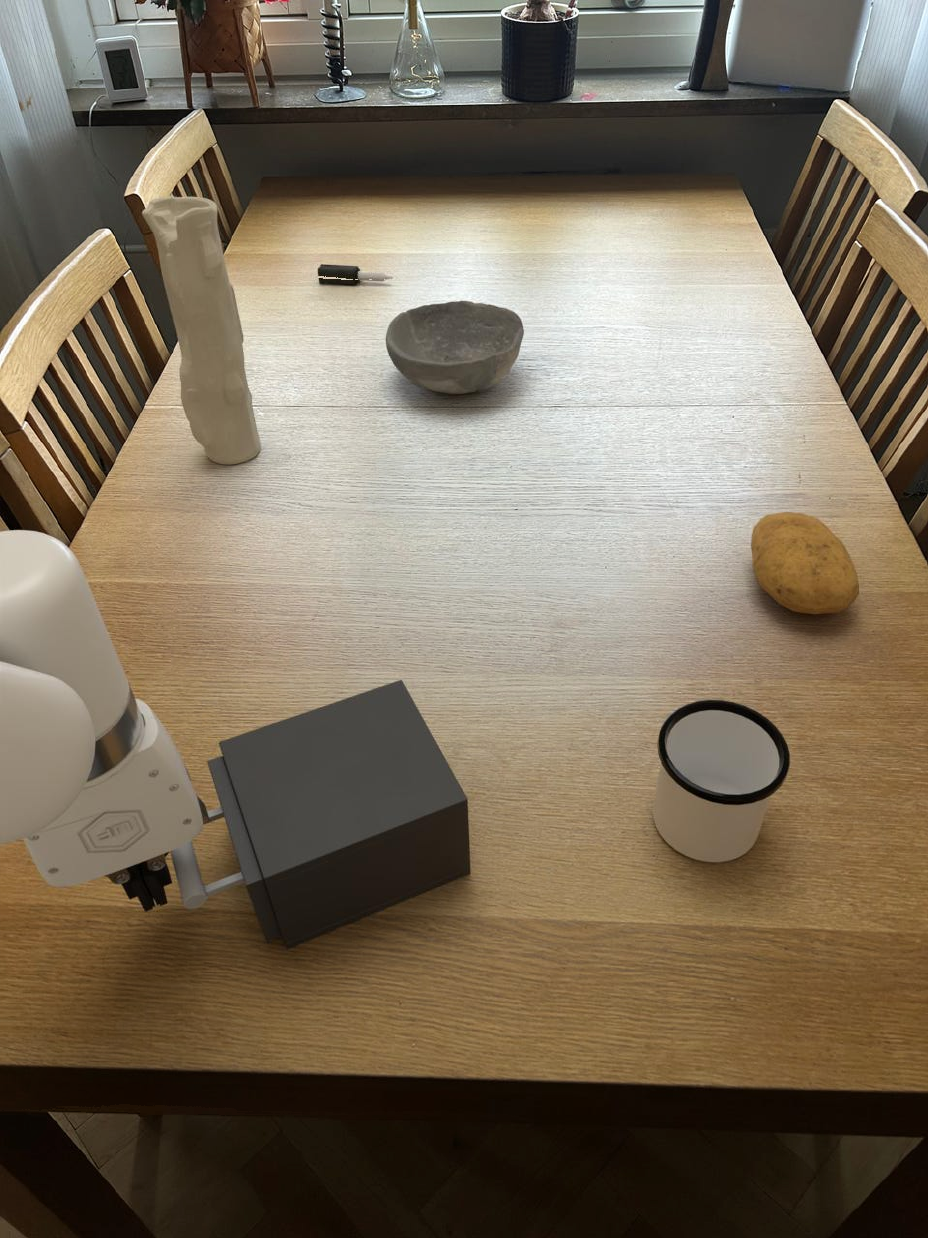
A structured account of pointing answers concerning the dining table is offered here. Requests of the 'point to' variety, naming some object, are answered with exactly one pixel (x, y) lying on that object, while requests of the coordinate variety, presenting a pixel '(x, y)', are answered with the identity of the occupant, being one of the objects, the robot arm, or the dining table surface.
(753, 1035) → the dining table surface
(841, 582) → the potato
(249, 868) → the drawer front with handle
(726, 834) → the mug
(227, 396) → the vase
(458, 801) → the dark grey drawer box
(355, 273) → the black and grey marker
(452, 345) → the bowl
